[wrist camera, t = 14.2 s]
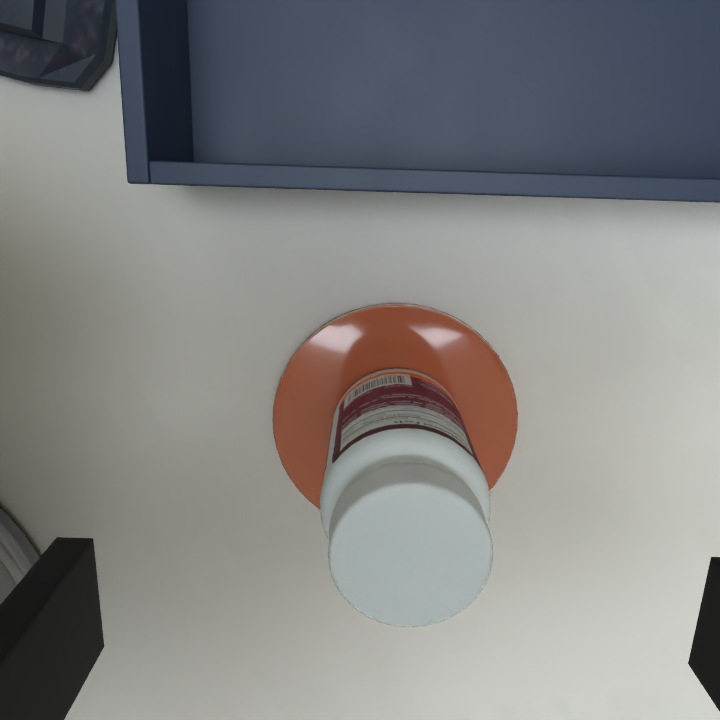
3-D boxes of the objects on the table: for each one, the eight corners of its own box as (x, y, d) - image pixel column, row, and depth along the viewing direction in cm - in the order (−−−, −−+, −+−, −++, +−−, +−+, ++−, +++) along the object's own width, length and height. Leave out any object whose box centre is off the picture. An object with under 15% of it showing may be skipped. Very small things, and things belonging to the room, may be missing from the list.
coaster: (275, 523, 25) (273, 529, 25) (273, 298, 22) (271, 300, 22) (503, 532, 25) (505, 537, 25) (527, 307, 22) (530, 309, 22)
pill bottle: (432, 502, 24) (462, 666, 16) (314, 460, 24) (285, 607, 16) (483, 391, 23) (543, 509, 15) (359, 345, 22) (352, 442, 14)
